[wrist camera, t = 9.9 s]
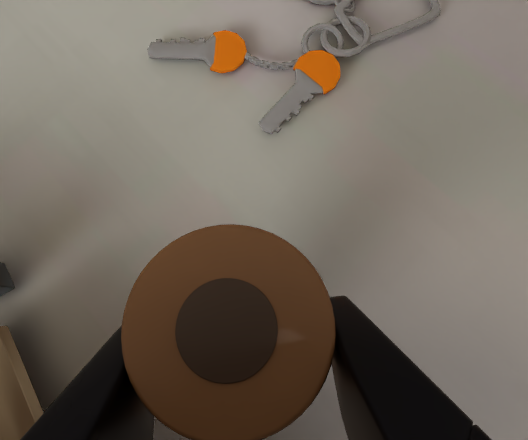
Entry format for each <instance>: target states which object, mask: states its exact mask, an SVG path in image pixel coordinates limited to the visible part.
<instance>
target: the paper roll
mask: <svg viewBox="0 0 528 440" xmlns="http://www.w3.org/2000/svg"><path fill="white" fill-rule="evenodd" d="M335 336H336V333H335V318H334V313H333V307H332V303H331V300H330V297H329V294H328V291H327V289H326V287H325V285H324V283H323V281H322V279H321V277H320V276H319V274H318V272H317V271H316V269H315V268H314V266H313V265H312V264H311V263H310V262H309V260H308V259H307V258H306V257H305V256H304V255H303V254H302V253H301V252H300V251H299V250H298V249H296V248H295V247H294V246H292V245H291V244H290V243H288V242H287V241H285V240H284V239H282V238H280V237H278V236H276V235H275V234H273V233H270V232H267V231H265V230H262V229H259V228H254V227H250V226H244V225H234V224H233V225H216V226H210V227H205V228H202V229H199V230H195V231H193V232H190V233H188V234H186V235H183V236H181V237H180V238H178V239H176V240H175V241H173V242H171V243H170V244H169V245H167V246H166V247H165V248H163V249H162V250H161V251H160V252H159V253H158V254H157V255H156V256H155V257H154V258H153V259H152V260H150V262H149V263H148V264H147V265H146V267H145V268H144V269H143V271H142V272H141V273H140V275H139V277H138V278H137V280H136V282H135V283H134V286H133V288H132V290H131V292H130V294H129V297H128V300H127V303H126V307H125V310H124V315H123V321H122V333H121V342H122V354H123V359H124V363H125V368H126V371H127V374H128V376H129V379H130V382H131V384H132V386H133V388H134V390H135V392H136V394H137V395H138V397H139V398H140V400H141V401H142V403H143V404H144V405H145V407H146V408H147V409H148V410H149V411H150V412H151V413H152V414H153V416H154V417H156V418H157V419H158V420H159V421H160V422H161V423H163V424H164V425H165V426H166V427H168V428H170V429H171V430H173V431H174V432H176V433H178V434H180V435H182V436H184V437H186V438H189V439H191V440H262V439H265V438H267V437H269V436H272V435H274V434H276V433H278V432H279V431H281V430H283V429H284V428H286V427H287V426H289V425H290V424H291V423H293V422H294V421H295V420H296V419H297V418H298V417H300V416H301V415H302V414H303V413H304V412H305V410H306V409H307V408H308V407H309V406H310V405H311V404H312V402H313V401H314V399H315V398H316V396H317V395H318V393H319V392H320V390H321V388H322V386H323V384H324V382H325V380H326V378H327V375H328V372H329V370H330V367H331V364H332V359H333V354H334V349H335Z"/></svg>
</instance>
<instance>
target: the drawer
mask: <svg viewBox="0 0 528 440" xmlns="http://www.w3.org/2000/svg"><path fill="white" fill-rule="evenodd" d="M14 288H15V286H14V284H13V281H12V279H11V277H10V274H9V272H8V270H7V267H6V265H5V263H1V262H0V296H2V295H4V294H5V293H7V292H9V291H11V290H13V289H14ZM42 414H43V410H42V408H41V406H40V403H39V401H38V398H37V396H36V394H35V391H34V389H33V386H32V384H31V382H30V379H29V377H28V374H27V372H26V369H25V367H24V365H23V362H22V360H21V357H20V355H19V353H18V350H17V348H16V345H15V343H14V340H13V338H12V336H11V333H10V331H9V328H8V327H7V326H0V440H20V439H21V438H22V437H23V436H24V435H25V433H26V432H27V431H28V430H29V429H30V428H31V427H32V426H33V424H34V423H35V422H36V421H37V420H38V419H39V418H40V417H41V415H42Z"/></svg>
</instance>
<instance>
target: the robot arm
mask: <svg viewBox="0 0 528 440" xmlns="http://www.w3.org/2000/svg"><path fill="white" fill-rule="evenodd" d="M330 300H331V303H332V307H333V313H334V318H335V333H336V336H335V349H334V354H333V359H332V369H333V374H334V380H335V385H336V390H337V396H338V401H339V406H340V411H341V415H342V419H343V423H344V426H345V430H346V433H347V436H348V439H349V440H491V439H490V438H489V437H488V436H487V435H486V434H485V433H484V432H483V431H482V430H481V429H480V428H479V427H478V426H477V425H473V421H472V420H471V419H470V418H469V417H468V416H467V415H466V414H465V413H464V412H463V411H462V410H461V409H460V408H459V407H458V406H457V405H456V404H455V403H454V402H453V401H452V400H451V399H450V398H449V397H448V396H447V395H446V394H445V393H444V392H443V391H442V390H441V389H440V388H439V387H438V386H437V385H436V384H435V383H434V382H432V381H431V380H430V379H429V378H428V377H427V376H426V375H425V374H424V373H423V372H422V371H421V370H420V369H419V368H418V367H417V366H416V365H415V364H414V363H413V362H412V361H411V360H410V359H409V358H408V357H407V356H406V355H405V354H404V353H403V352H402V351H401V350H400V349H399V348H398V347H397V346H396V345H395V344H394V343H393V342H392V341H391V340H390V339H389V338H388V337H387V336H386V335H385V334H384V333H383V332H382V331H381V330H380V329H379V328H378V327H377V326H376V325H375V324H374V323H373V322H372V321H371V320H370V319H369V318H368V317H367V316H366V315H365V314H364V313H363V312H362V311H361V310H360V309H359V308H358V307H357V306H356V305H355V304H354V303H352V302H351V301H350V300H349V299H348V298H347V297H346V296H336V297H330ZM121 333H122V326H121V327H120V328H119V329H118V330H117V331H116V332H115V333H114V334H113V335H112V337H111V338H110V339H109V340H108V341H107V342H106V343H105V344H104V346H103V347H102V348H101V349H100V350H99V351H98V352H97V353H96V355H95V356H94V357H93V358H92V359H91V360H90V361H89V362H88V364H87V365H86V366H85V367H84V368H83V369H82V370H81V371H80V373H79V374H78V375H77V376H76V377H75V378H74V379H73V380H72V382H71V383H70V384H69V385H68V386H67V387H66V388H65V390H64V391H63V392H62V393H61V394H60V395H59V396H58V397H57V399H56V400H55V401H54V402H53V403H52V404H51V405H50V406H49V408H48V409H47V410H46V411H45V412H44V413H43V414H42V415H41V417H40V418H39V419H38V420H37V421H36V422H35V423H34V424H33V426H32V427H31V428H30V429H29V430H28V431H27V432H26V433H25V435H24V436H23V437H22V438H21V439H20V440H153V429H154V416H153V414H152V413H151V412H150V411H149V410H148V409H147V408H146V407H145V405H144V404H143V403H142V401H141V400H140V398H139V397H138V395H137V394H136V392H135V390H134V388H133V386H132V384H131V382H130V379H129V376H128V374H127V371H126V368H125V363H124V359H123V354H122V342H121Z"/></svg>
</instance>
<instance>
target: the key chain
mask: <svg viewBox="0 0 528 440" xmlns="http://www.w3.org/2000/svg"><path fill="white" fill-rule="evenodd" d="M309 1H310V2H312V3H315V4H322V5H330V4H335V5H336V6H335V8H334V10H335V13H336V15H337V17H338V18H335V19H332V20H331V21H330V22H329V23H328V24H316V25H314V26H312V27H310V28H309V29H308V30H307V31H306V32H305V34H304V35H303V39H302V43H301V44H302V48H303V52H304V55H303V56H301V57H299V59H296V60H293V61H291V62H282V63H277V62H272V63H269V62H268V61H264V60H262V61H261V60H259V59H258V58H256V57H254V56H253V57H252V56H251V54H249V53H248V52H247V50H246V46H245V41H244V40H243V39H242V38H241V37H240V36H239V35H238V34H237V33H234V32H230V31H226V30H224V31H219V32H214V33H213V34H214V35H213V36H212V37H211V38H209V39H208V40H207V41H206V42H205V38H200V40H195V42H194V43H190V40H186V38H180V43H176V39H171V41H170V42H162V40H161V39H156V42H151V43H150V45H149V47H148V49H147V50H148V54H149V57H150V58H169V59H203V60H204V61H205V62H206V63H207V64H208V65H209V66H210V70H211V71H215V72H219V73H226V72H231V71H234V70H236V69H237V68H238V67H239V66H241V65H242V64H243V62H244V60H249V61H250V63H252V64H254V65H256V66H257V65H259V66H260V67H262V68H266V69H267V68H271V69H275V70H278V69H282V70H283V69H289V68H291V67H293V70H295V73H296V83H295V84H294V85H293V86H292V87H291V88H290V89H289V90H288V91H287V92H286V93H285V95H284V96H283V97H282V98H281V99H280V100H279V101H278V102H277V103H276V104H275V105H274V106H273V107H272V108H271V109H270V111H269V112H268V113H267V114H266V115H265V116H264V117H263V118H262V119H261V120H260V121H259V125H260V126H261V128H262V130H263V131H265V132H267V133H270V134H272V133H273V132H274V131H276V132H277V133H278V132H279V131H280V130H281V128H280V127H279V125H280V124H281V123H282V122H283V121H284V120H285V119H286V120H287V121H289V120H290V119H291V116H290V114H291V113H292V112H293V113H294V114H295V115H296V116H297V115H298V113H299V112H300V111H299V109H300V108H301V107H302V106H301V105H300V103H301V102H302V101H303V102H304V103H306V102H307V101H308V100H310V101H311V99H312V98H313V97H314V96H313V95H312V94H315V93H323V94H324V95H325V94H326V93H328V92H329V91H331V90H332V89H334V88H335V86H336V84H337V82H338V81H339V79H340V64H339V62H338V61H337V60H336V58H337V57H350V56H353V55H356V54H359V53H360V52H361V51H362V50H363V49H364V48H366V47H367V46H368V45H369V44H372V43H375V42H378V41H381V40H383V39H386V38H389V37H392V36H394V35H397V34H400V33H403V32H405V31H408V30H410V29H413V28H415V27H418V26H420V25H423V24H425V23H428V22H430V21H431V20H433V19H434V18H436V17H438V16H439V15H440V11H441V10H440V5H439V2H438V0H429V2H430V4H431V10H430V11H429V12H428V13H426V14H425V15H423V16H421V17H419V18H416V19H414V20H411V21H409V22H407V23H404V24H402V25H399V26H396V27H394V28H391V29H388V30H385V31H382V32H380V33H377V34H374V35H371V31H370V27H369V26H368V25H367V24H366V23H365V22H364V21H363V20H362V19H359V18H357V17H354V16H346V15H345V13H344V12H352V11H353V10H354V9H355V3H354V0H309ZM350 3H351V4H352V7H351V8H350V9H347V7H348V6H349V5H350ZM351 23H352V24H354V25H357V26H359V27H360V28H361V29H362V30H363V34H364V37H363V36H361V35H360V34H359V33H358V32H357V31H356V30H355V28H354V27H353V26H352V24H351ZM340 24H342V25H343V27H344V28H345V30H346V31H347V32H348V34H349V35H350V36H351V37H352V38H353V40H354V41H355V42H356V43H357V44H359V45H358V46H357V47H354V48H351V49H343V45H344V41H343V36H342V34H341V32H340V31H339V30H338V29H337V28H336V27H334V26H337V25H340ZM319 29H323V30H322V32H321V35H320V39H321V45H322V46H323V47H324V48H325V49H326V51H327V52H326V51H323V50H315V51H310V50H309V48H308V39H309V37H310V35H311V34H312V33H313V32H314V31H317V30H319ZM329 31H331V32H333V33H334V34H335V36H336V37H337V42H338V45H337V48H335V47H332V46H331V45H330V44H329V42H328V37H327V35H328V33H329ZM330 53H331V54H330Z"/></svg>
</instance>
